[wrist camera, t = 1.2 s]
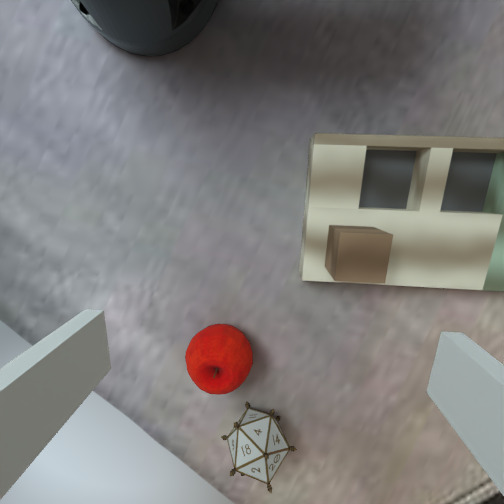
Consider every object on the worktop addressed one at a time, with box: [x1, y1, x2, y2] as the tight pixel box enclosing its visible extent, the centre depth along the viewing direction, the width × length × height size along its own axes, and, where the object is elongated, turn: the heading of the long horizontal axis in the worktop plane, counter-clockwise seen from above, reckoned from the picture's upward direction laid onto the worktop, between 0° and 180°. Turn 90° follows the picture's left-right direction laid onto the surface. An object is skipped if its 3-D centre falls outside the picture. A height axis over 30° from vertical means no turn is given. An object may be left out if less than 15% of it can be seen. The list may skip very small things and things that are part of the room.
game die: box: [222, 402, 297, 493], centre depth 34 cm, size 9×8×10 cm
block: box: [325, 225, 393, 284], centre depth 26 cm, size 4×4×4 cm
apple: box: [185, 324, 253, 394], centre depth 31 cm, size 8×8×7 cm
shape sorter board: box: [299, 133, 504, 291], centre depth 28 cm, size 15×25×3 cm, turn 88°
